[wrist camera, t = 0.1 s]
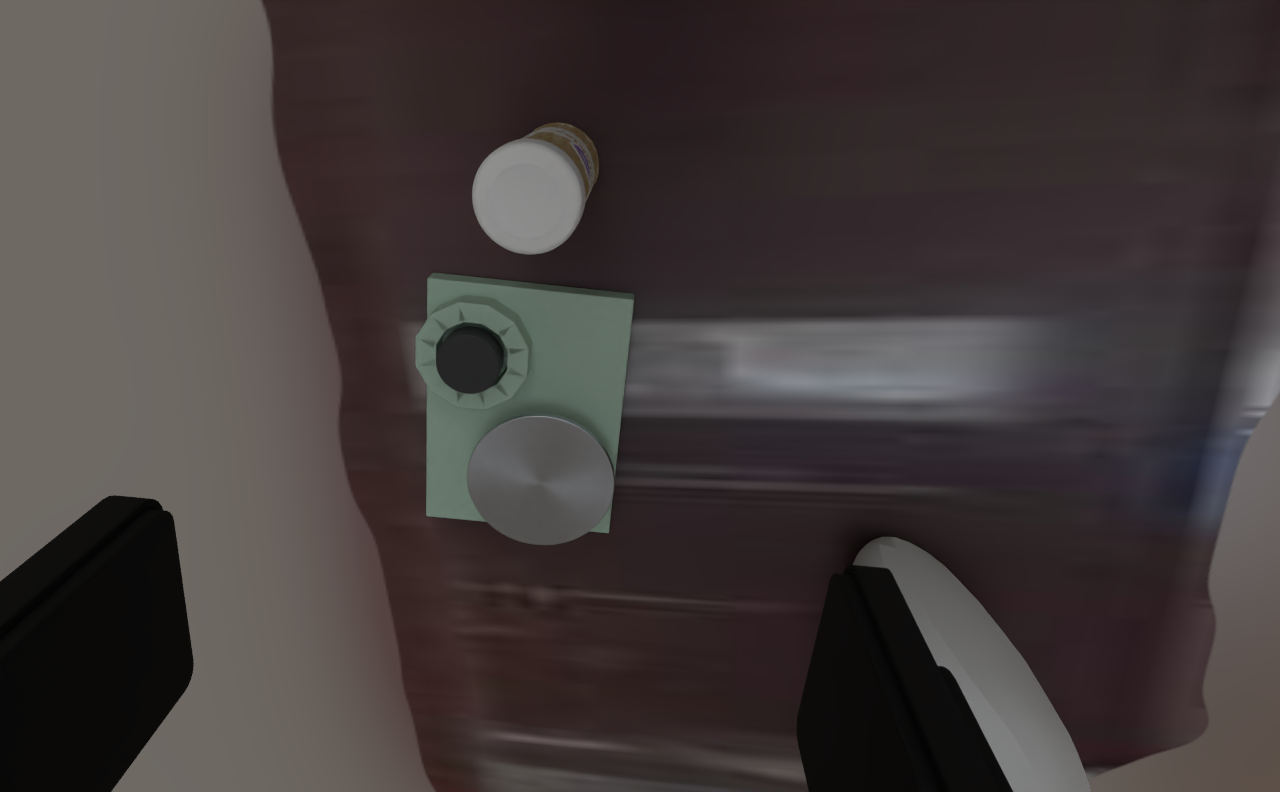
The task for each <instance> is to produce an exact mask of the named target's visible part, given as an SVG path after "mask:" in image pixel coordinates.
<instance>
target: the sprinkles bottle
mask: <svg viewBox="0 0 1280 792" xmlns="http://www.w3.org/2000/svg"><path fill="white" fill-rule="evenodd" d="M598 174H599V159H598V153H597V150H596V148H595V146H594V144H593V142H592V141H591V139H590V138H589V137H588V136H587V135H586V134H585V133H584V132H583V131H581V130H580V129H578V128H576V127H575V126H573V125H571V124H567V123H560V122H556V123H549V124H545V125H543V126H541V127H538V128H536V129H535V130H534V131H533V132H532V133H530V134H528V135H526V136H525V137H523V138H521V139H518V140H514V141H511V142H509V143H507V144H504V145H503V146H501V147H499V148H498V149H496V150H495V151H494V152H492V153H491V154H490V155H489V156H488V157H487V158H486V159H485V160H484V161H483V163H482V164H481V166H480V167H479V169H478V171H477V173H476V176H475V179H474V183H473V189H472V202H473V208H474V212H475V215H476V217H477V220H478V222H479V224H480V226H481V227H482V229H483V230H484V231H485V233H486V234H487V235H488V236H489V237H490V238H491V239H492V240H493V241H494V242H496V243H497V244H498V245H500V246H502V247H503V248H505V249H507V250H510V251H512V252H516V253H520V254H540V253H545V252H548V251H550V250H553V249H555V248H557V247H558V246H560V245H561V244H562V243H564V242H565V241H566V240H567V239H568V238H569V237H570V236H571V234H572V233H573V232H574V230H575V229H576V227H577V225H578V224H579V222H580V219H581V217H582V215H583V211H584V207H585V202H586V200H587V198H588V196H589V194H590V192H591V190H592V188H593V186H594V185H595V183H596V181H597V178H598Z"/></svg>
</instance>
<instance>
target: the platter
mask: <svg viewBox="0 0 1280 792" xmlns="http://www.w3.org/2000/svg"><path fill="white" fill-rule="evenodd" d="M467 483H468V489H469V493H470V496H471V499H472V501H473V503H474V505H475V507H476V509H477V510H478V512H479V513H480V515H481V516H482V517H483V518H484V519H485V521H486V522H487V523H488V524H490V525H491V526H492V527H493V528H494V529H496V530H497V531H499V532H500V533H502V534H503V535H505V536H507V537H509V538H512V539H514V540H517V541H520V542H524V543H527V544H534V545H556V544H561V543H565V542H569V541H572V540H574V539H576V538H579V537H581V536H583V535H584V534H586V533H587V532H589V531H590V530H591V529H593V528H594V527H595V526H596V525H597V524H598V523H599V522H600V521H601V520H602V518H603V517H604V516H605V514H606V513H607V511H608V509H609V507H610V504H611V501H612V498H613V494H614V485H615V476H614V469H613V465H612V461H611V459H610V457H609V454H608V452H607V451H606V449H605V447H604V446H603V444H602V443H601V442H600V441H599V439H598V438H597V437H596V436H595V435H594V434H593V433H592V432H591V431H589V430H588V429H587V428H585V427H584V426H582V425H581V424H579V423H577V422H575V421H573V420H571V419H568V418H566V417H563V416H559V415H555V414H549V413H526V414H521V415H517V416H514V417H511V418H508V419H506V420H504V421H502V422H500V423H498V424H497V425H495V426H494V427H492V428H491V429H490V430H489V431H488V432H486V433H485V434H484V436H483V437H482V438H481V439H480V440H479V442H478V444H477V445H476V447H475V449H474V451H473V453H472V456H471V458H470V461H469V465H468V472H467Z"/></svg>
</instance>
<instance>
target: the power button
mask: <svg viewBox="0 0 1280 792" xmlns="http://www.w3.org/2000/svg"><path fill="white" fill-rule="evenodd" d="M503 362H504V354H503V350H502V347H501V345H500V343H499V341H498V340H497V339H496V337H494V336H493V335H492V334H491V333H490V332H488V331H486V330H484V329H482V328H479V327H473V326H468V327H462V328H459V329H457V330H455V331H453V332H452V333H451V334H450V335H449V336H448V337H447V338H446V339H445V341H444V342H443V344H442V345H441V346H440V348H439V350H438V352H437V356H436V367H437V371H438V373H439V375H440V377H441V379H442V380H443V381H444V383H445V384H447V385H448V386H449V387H450V388H452V389H454V390H455V391H458V392H461V393H466V394H475V393H480V392H483V391H485V390H487V389H488V388H490V387H491V386H492V385H493V384H494V382H495V381H496V379H497V377H498V375H499V373H500V371H501V369H502V366H503Z"/></svg>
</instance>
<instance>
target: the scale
mask: <svg viewBox="0 0 1280 792" xmlns="http://www.w3.org/2000/svg"><path fill="white" fill-rule="evenodd" d="M633 306H634V294H632V293H622V292H613V291H603V290H594V289H585V288H575V287H566V286H556V285H547V284H537V283H528V282H519V281H509V280H500V279H490V278H481V277H472V276H462V275H453V274H443V273H432V274H431V275H430V276H429V277H428V278H427V320H426V322H425V324H424V325H423V327H422V328H421V330H420V331H419V333H418V334H417V336H416V367H417V369H418V371H419V372H420V374H421V376H422V378H423V379H424V381H425V383H426V384H427V460H426V516H431V517H442V518H452V519H463V520H474V521H484V522H486V521H485V519H484V518H483V517H482V516H481V515H480V513H479V512H478V510H477V509H476V507H475V505H474V503H473V501H472V499H471V496H470V493H469V489H468V483H467V472H468V465H469V461H470V458H471V456H472V453H473V451H474V449H475V447H476V445H477V444H478V442H479V440H480V439H481V438H482V437H483V436H484V434H485V433H486V432H488V431H489V430H490V429H491V428H492V427H494V426H495V425H497V424H498V423H500V422H502V421H504V420H506V419H508V418H511V417H514V416H517V415H521V414H526V413H549V414H555V415H559V416H563V417H566V418H568V419H571V420H573V421H575V422H577V423H579V424H581V425H582V426H584V427H585V428H587V429H588V430H589V431H591V432H592V433H593V434H594V435H595V436H596V437H597V438H598V439H599V441H600V442H601V443H602V444H603V446H604V447H605V449H606V451H607V452H608V454H609V457H610V459H611V461H612V465H613V469H614V476H615V472H616V463H617V453H618V444H619V435H620V426H621V417H622V407H623V398H624V389H625V380H626V371H627V361H628V352H629V343H630V334H631V325H632V315H633ZM468 326H473V327H479V328H482V329H484V330H486V331H488V332H490V333H491V334H492V335H493V336H494V337H496V339H497V340H498V341H499V343H500V345H501V347H502V350H503V354H504V362H503V366H502V369H501V371H500V373H499V375H498V377H497V379H496V381H495V382H494V384H493V385H492V386H491V387H490V388H488V389H487V390H485V391H483V392H480V393H475V394H466V393H461V392H458V391H455V390H454V389H452V388H450V387H449V386H448V385H447V384H445V383H444V381H443V380H442V379H441V377H440V375H439V373H438V371H437V367H436V356H437V352H438V350H439V348H440V346H441V345H442V344H443V342H444V341H445V339H446V338H447V337H448V336H449V335H450V334H451V333H452V332H453V331H455V330H457V329H459V328H462V327H468ZM612 499H613V498H612ZM611 509H612V501H611V504H610V507H609V509H608V511H607V513H606V514H605V516H604V517H603V518H602V520H601V521H600V522H599V523H598V524H597V525H596V526H595V527H594V528H593V529H591V530H590V532H600V533H609V527H610V518H611Z"/></svg>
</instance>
